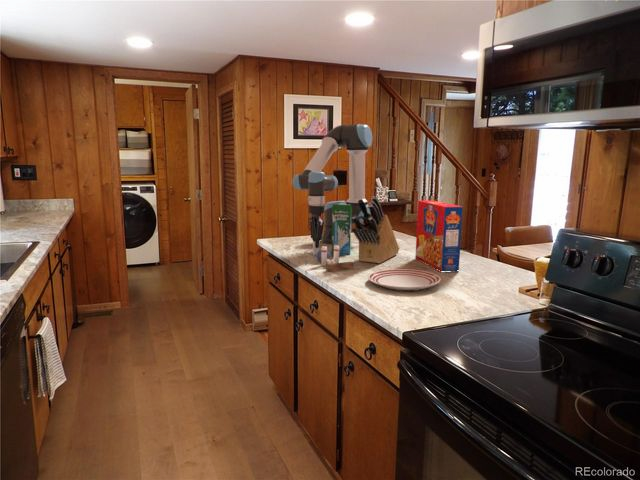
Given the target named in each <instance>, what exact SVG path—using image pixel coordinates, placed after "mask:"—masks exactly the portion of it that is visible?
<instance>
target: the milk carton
mask: <svg viewBox="0 0 640 480" xmlns="http://www.w3.org/2000/svg"><path fill="white" fill-rule="evenodd" d="M351 240H352V225H351V205H346V204H342V203H340V204H339V205H338V204H333V208H332V244H331V255H334V246H339V255H348V256H349V255H351V248H352V247H351V246H352V245H351V244H352V243H351V242H352V241H351Z"/></svg>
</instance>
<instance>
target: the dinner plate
mask: <svg viewBox="0 0 640 480" xmlns="http://www.w3.org/2000/svg"><path fill="white" fill-rule="evenodd" d="M367 278H368V281H369V282H372V283H374V284H376V285H377V286H380V287H383V288H386V289H388V290H389V289H390V290H394V289H395V291H403V290H414V291H420V290H419V289H421V290H424V289H427V288H431V287H434V286H436V285H438V284H439V283H440V282H441V280H442V279H441V277H440V276H439V275H438V274H435V273H433V272H431V271H425V270H421V269H420V270H419V269H411V268H410V269H407V268H405V269H404V268H392V269H382V270H377V271H373V272H371V273H370V274H369V275H368V276H367Z"/></svg>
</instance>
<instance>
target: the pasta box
mask: <svg viewBox="0 0 640 480" xmlns="http://www.w3.org/2000/svg"><path fill="white" fill-rule="evenodd" d="M463 209H464V207H463V206H461V205H456V204H452V203H447V202H443V201H439V200H438V201H437V200H418V201H417V214H416V215H417V216H416V217H417V220H416V236H415V238H416V240H415V258H416V260H417V259H418V260H417V261H419V260H420V261H419V262H421V261H422V262H421V263H423V262H424V263H426V264H428V265H429V266H428V265H427V266H428V267H430V266H432V267H434V268H435V269H438V270H440V271H457V270H459V271H460V256H461V255H460V254H461V243H462V242H461V240H462V226H463V225H462V224H463V212H464V211H463ZM424 263H423V264H424ZM426 264H425V265H426ZM432 267H431V268H432ZM434 268H433V269H434ZM435 269H434V270H435Z"/></svg>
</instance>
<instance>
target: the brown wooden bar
mask: <svg viewBox="0 0 640 480" xmlns="http://www.w3.org/2000/svg"><path fill="white" fill-rule="evenodd" d="M354 263H355V262H353V261H345V262H343V261H342V262H339V263H331V264H326V266H325V269H326V272H328V273H331V272H340V271H350V270H354Z"/></svg>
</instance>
